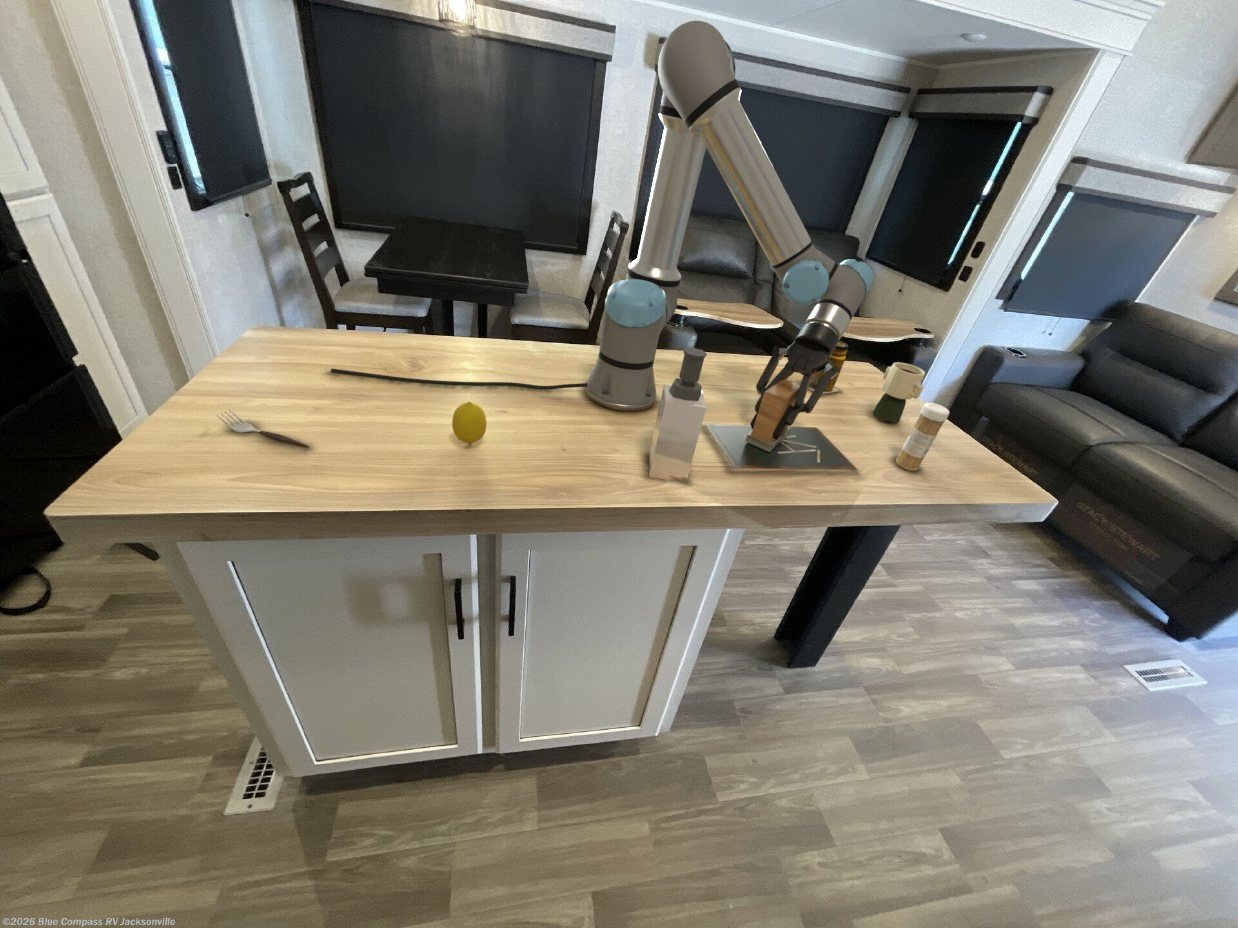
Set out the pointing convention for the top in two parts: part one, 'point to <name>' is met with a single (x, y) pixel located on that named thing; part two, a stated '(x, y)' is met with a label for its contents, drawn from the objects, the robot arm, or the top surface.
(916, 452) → the sprinkles bottle
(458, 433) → the lemon
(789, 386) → the eraser
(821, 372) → the condiment
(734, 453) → the chalkboard
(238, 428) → the fork
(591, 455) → the top surface
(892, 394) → the cream and green goblet
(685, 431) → the soap dispenser
